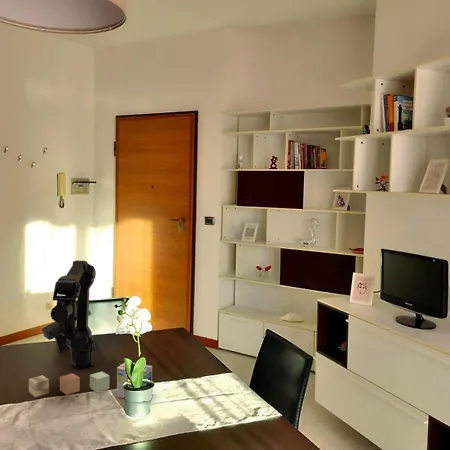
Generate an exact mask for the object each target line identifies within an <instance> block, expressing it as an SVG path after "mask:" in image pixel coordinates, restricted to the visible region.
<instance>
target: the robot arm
mask: <svg viewBox="0 0 450 450" xmlns="http://www.w3.org/2000/svg"><path fill="white" fill-rule="evenodd" d="M96 273H97V270H96V268H95V266H93V265H91V264H89V262H88V261H86V260H73V261H72V266H71V267H70V269H69V270H68V272H67V273H66V274H65V275H62V276H60V277H59V278H58V279H57V280H56V282H55V284H54V290H53V295H52V301H55V302H56V304H55V306H54V307H52V309H51V311H50V317H51V319H52V321H54V322H52V323H50V324H47V325H46V326H44V327H42V328H41V331H42V335H43V337H44V338H45V339H47V340H48V341H50V340H51V341H52V340H53V339H54V340H55V343H56V346H57V349H58V353H59V354H61V355H62V354H63V353H64V351H65V348H66V346H67V347H68V348H69V351H70V353H69V354H70V359H71V366H73V367H75V368H76V369H78V370H82V369H85V368H90V367H93V366H95V365H94V363H92V355H93V354H92V353H93V352H95V351H96V344H95V343H96V342H95V339H94V336H93V332H92V330H91V329H90V326H89V307H90V289H91V287H92V286H93V284H94V282H95V279H96Z"/></svg>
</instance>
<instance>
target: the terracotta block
mask: <svg viewBox="0 0 450 450" xmlns="http://www.w3.org/2000/svg"><path fill="white" fill-rule="evenodd" d="M80 379H81V378H80V376H78V375H77V374H74V373H68V374H66V375H61V376H59V391H60V392H61V393H63V394H65V395H66V396H67V395H71V394H74V393H77V392H80V391H81V390H80V389H81V387H80V385H81V384H80V382H81V381H80Z"/></svg>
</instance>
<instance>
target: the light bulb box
mask: <svg viewBox="0 0 450 450" xmlns="http://www.w3.org/2000/svg"><path fill="white" fill-rule="evenodd" d="M132 363H133V364H135V363H136V362H132ZM144 365H145V369H144V373H143V379H148V380H150V381H152V382H153V366H152V365H147V364H144ZM125 382H128V377H127V374H126V371H125V362H124V363H122V364H120V365H119V366H117V367H116V398H122V399H125V398H124V392H123V384H124V383H125Z"/></svg>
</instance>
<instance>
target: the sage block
mask: <svg viewBox="0 0 450 450" xmlns="http://www.w3.org/2000/svg"><path fill="white" fill-rule="evenodd" d="M110 381H111V380H110V375H109V374H107V373H106V372H104V371H99V372H95V373H92V374H90V375H89V389H91V390H92V391H94V392H95V393H101V392H103V391H107V390H109V389H110Z"/></svg>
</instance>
